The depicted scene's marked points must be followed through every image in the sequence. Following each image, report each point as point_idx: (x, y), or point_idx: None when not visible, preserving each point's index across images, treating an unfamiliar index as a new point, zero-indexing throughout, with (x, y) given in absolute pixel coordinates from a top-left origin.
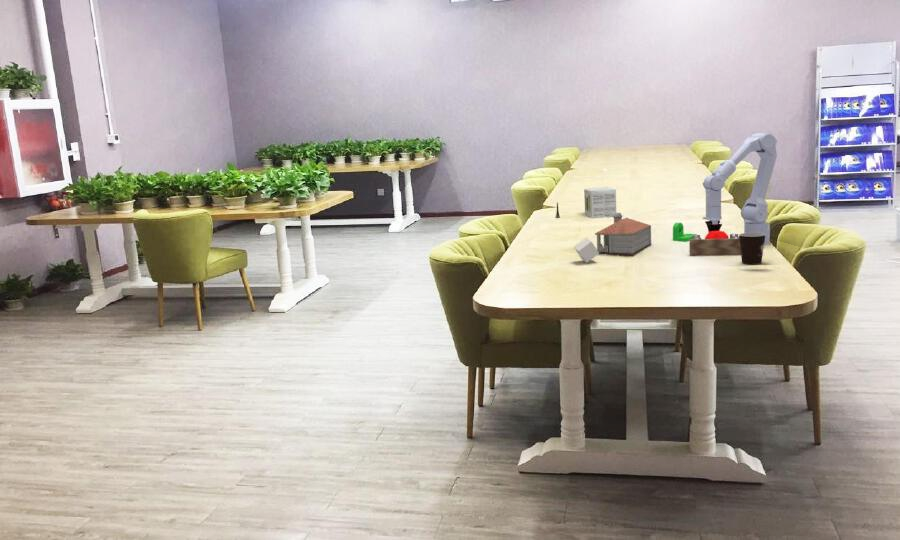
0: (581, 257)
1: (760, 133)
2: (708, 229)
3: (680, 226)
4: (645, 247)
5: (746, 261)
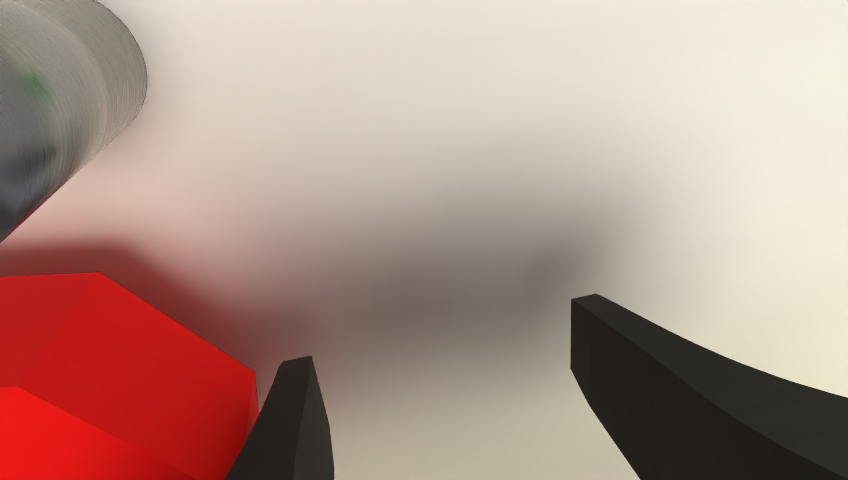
0: None
1: None
2: (688, 389)
3: None
4: None
5: None
